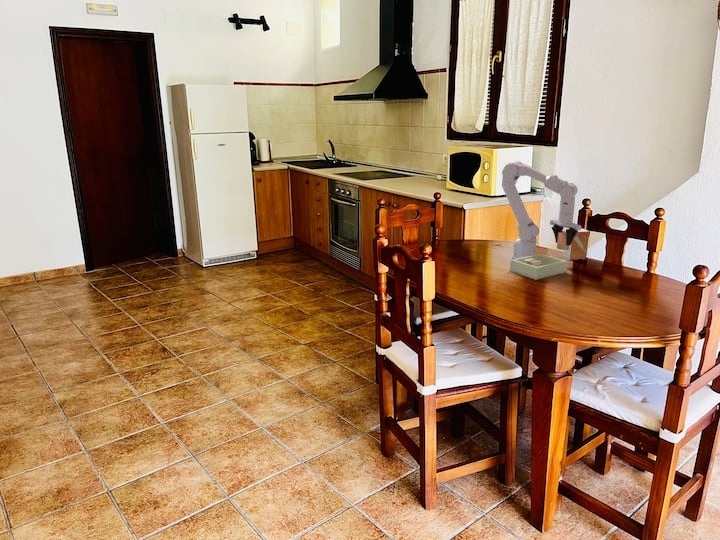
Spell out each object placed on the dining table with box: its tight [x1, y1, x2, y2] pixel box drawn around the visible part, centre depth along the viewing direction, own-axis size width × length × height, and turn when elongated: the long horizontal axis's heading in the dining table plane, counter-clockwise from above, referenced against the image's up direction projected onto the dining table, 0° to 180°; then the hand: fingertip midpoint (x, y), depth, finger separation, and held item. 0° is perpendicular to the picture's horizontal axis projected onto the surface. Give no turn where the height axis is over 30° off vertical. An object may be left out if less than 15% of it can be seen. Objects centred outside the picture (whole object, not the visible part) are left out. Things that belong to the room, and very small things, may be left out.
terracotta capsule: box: [556, 230, 569, 251], centre depth 232 cm, size 5×5×7 cm
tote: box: [509, 253, 568, 281], centre depth 224 cm, size 14×18×5 cm
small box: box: [562, 228, 590, 261], centre depth 244 cm, size 8×6×13 cm
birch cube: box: [524, 258, 542, 267], centre depth 222 cm, size 5×5×5 cm
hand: (563, 243), depth 233 cm, fingers closed on terracotta capsule, 5 cm apart
